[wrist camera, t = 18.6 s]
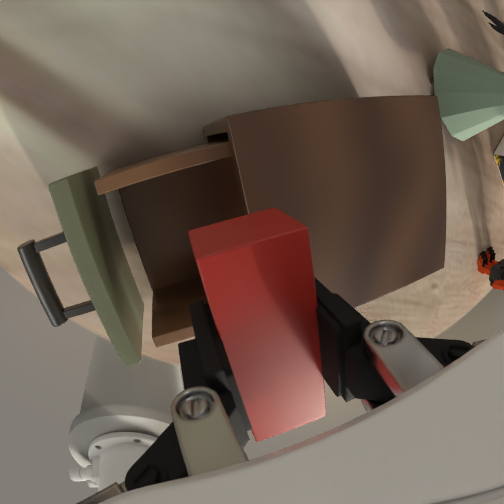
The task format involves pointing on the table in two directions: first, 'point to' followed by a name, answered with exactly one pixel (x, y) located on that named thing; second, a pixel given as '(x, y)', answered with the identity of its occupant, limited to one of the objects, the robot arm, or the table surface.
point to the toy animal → (492, 268)
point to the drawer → (138, 241)
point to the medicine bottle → (500, 159)
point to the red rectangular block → (265, 315)
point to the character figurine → (468, 91)
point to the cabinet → (350, 185)
